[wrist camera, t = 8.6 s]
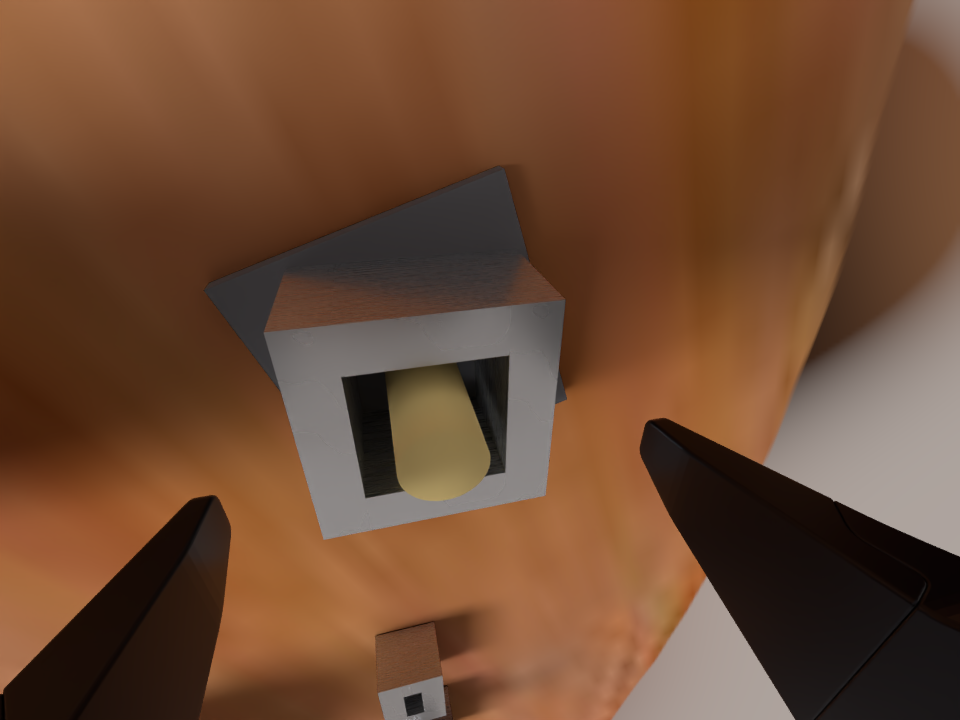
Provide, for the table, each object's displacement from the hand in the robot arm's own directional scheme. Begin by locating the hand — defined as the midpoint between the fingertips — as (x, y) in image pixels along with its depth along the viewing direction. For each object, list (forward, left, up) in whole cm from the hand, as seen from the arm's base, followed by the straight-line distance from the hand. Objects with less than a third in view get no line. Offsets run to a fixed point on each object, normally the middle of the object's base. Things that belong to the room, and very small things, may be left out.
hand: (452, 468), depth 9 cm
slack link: (-7, -16, -5) cm, 18 cm away
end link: (0, 0, -5) cm, 5 cm away
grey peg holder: (0, 0, -5) cm, 5 cm away
